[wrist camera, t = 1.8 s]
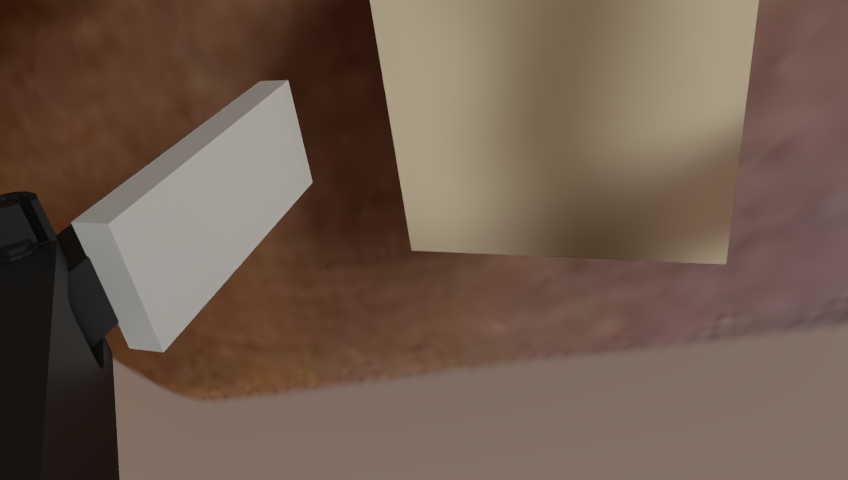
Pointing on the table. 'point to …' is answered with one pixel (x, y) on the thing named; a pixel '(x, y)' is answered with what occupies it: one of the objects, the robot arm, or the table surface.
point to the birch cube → (568, 124)
